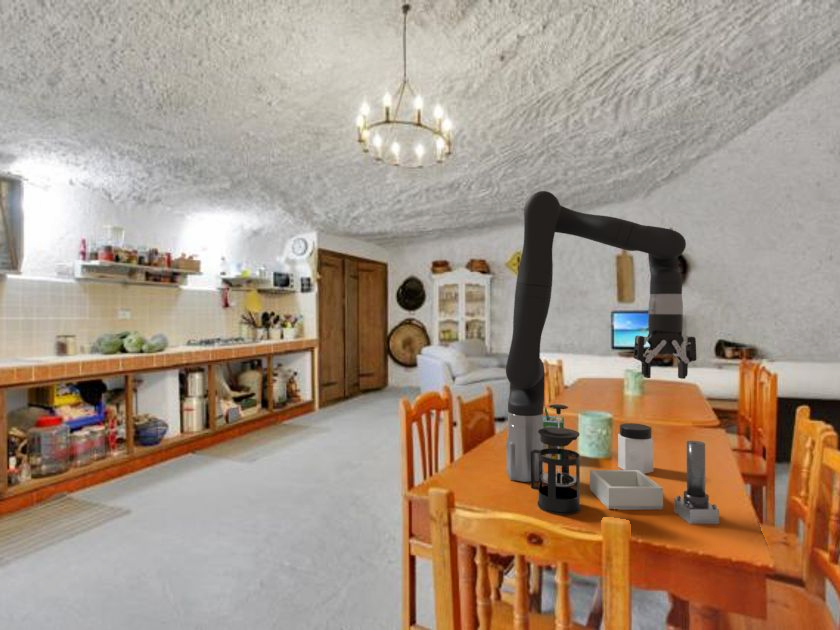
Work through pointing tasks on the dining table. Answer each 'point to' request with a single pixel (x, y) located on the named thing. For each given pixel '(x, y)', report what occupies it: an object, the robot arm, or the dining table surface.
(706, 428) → the dining table surface
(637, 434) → the jar
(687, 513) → the stud mount
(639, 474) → the bin
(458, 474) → the dining table surface
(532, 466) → the french press
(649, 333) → the robot arm
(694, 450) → the grey metal flanged cylinder
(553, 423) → the chalk box
